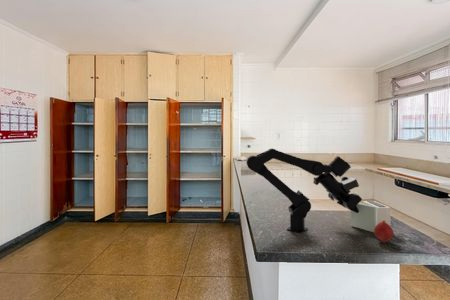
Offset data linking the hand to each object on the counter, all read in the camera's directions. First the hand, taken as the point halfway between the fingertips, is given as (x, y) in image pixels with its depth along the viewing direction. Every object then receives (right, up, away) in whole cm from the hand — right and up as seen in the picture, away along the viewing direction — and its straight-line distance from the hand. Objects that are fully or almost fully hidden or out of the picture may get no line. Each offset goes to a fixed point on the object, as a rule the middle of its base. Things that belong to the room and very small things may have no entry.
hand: (357, 211), depth 109 cm
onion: (+2, -8, -14) cm, 16 cm away
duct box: (+8, -7, +1) cm, 11 cm away
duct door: (+2, -7, -1) cm, 7 cm away
